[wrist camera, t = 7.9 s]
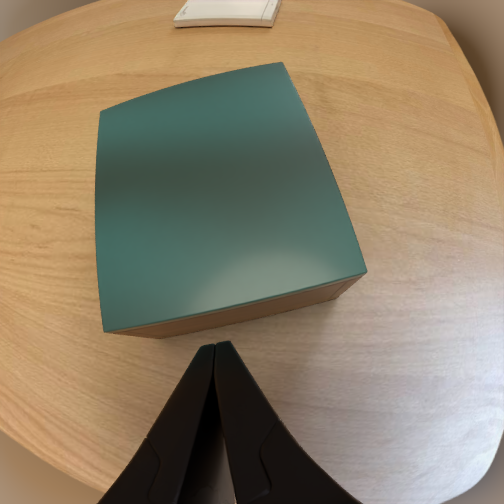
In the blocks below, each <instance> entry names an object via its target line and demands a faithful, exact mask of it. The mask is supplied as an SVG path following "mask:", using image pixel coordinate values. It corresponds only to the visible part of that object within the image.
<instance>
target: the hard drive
mask: <svg viewBox="0 0 504 504" xmlns="http://www.w3.org/2000/svg"><path fill="white" fill-rule="evenodd" d="M281 1H282V0H188V1H187V3H186V4H185V5H184V6H183V8H182V9H181V10H180V11H179V13H178V14H177V15H176V16H175V18H174V20H173V22H174V26H175V27H188V26H211V25H244V26H266V27H272V26H273V23H274V20H275V18H276V15H277V12H278V10H279V7H280V5H281Z"/></svg>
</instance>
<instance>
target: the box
mask: <svg viewBox="0 0 504 504" xmlns="http://www.w3.org/2000/svg"><path fill="white" fill-rule="evenodd" d="M360 278H361V277H359V278H355V279H351V280H348V281H344V282H340V283H337V284H333V285H329V286H325V287H322V288H318V289H314V290H310V291H306V292H302V293H298V294H294V295H290V296H286V297H282V298H278V299H274V300H270V301H266V302H262V303H257V304H253V305H249V306H245V307H240V308H236V309H231V310H227V311H223V312H218V313H213V314H209V315H204V316H199V317H195V318H190V319H185V320H180V321H175V322H170V323H165V324H160V325H155V326H150V327H145V328H139V329H134V330H128V331H123V332H117V333H113V334H120V335H128V336H137V337H146V338H155V339H161V338H167V337H172V336H177V335H182V334H188V333H193V332H198V331H203V330H207V329H212V328H217V327H222V326H226V325H231V324H235V323H240V322H244V321H249V320H253V319H257V318H262V317H266V316H270V315H274V314H278V313H282V312H287V311H291V310H294V309H298V308H302V307H306V306H310V305H314V304H318V303H321V302H325V301H329V300H332V299H336V298H338V297H339V296H340V295H341V294H342V293H343V292H345V291H346V290H347V289H348V288H349V287H351V286H352V285H353V284H354V283H355V282H356V281H358V280H359V279H360Z"/></svg>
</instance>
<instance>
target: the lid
mask: <svg viewBox="0 0 504 504" xmlns="http://www.w3.org/2000/svg"><path fill="white" fill-rule="evenodd" d="M95 240H96V261H97V276H98V288H99V298H100V308H101V316H102V324H103V331H104V332H105V333H117V332H123V331H128V330H134V329H139V328H145V327H150V326H155V325H160V324H165V323H170V322H175V321H180V320H185V319H190V318H195V317H199V316H204V315H209V314H213V313H218V312H223V311H227V310H231V309H236V308H240V307H245V306H249V305H253V304H257V303H262V302H266V301H270V300H274V299H278V298H282V297H286V296H290V295H294V294H298V293H302V292H306V291H310V290H314V289H318V288H322V287H325V286H329V285H333V284H337V283H340V282H344V281H348V280H351V279H355V278H359V277H362V276H364V275H365V274H366V273H367V269H366V265H365V262H364V259H363V256H362V253H361V250H360V247H359V244H358V241H357V238H356V235H355V232H354V229H353V226H352V223H351V220H350V218H349V215H348V212H347V209H346V206H345V204H344V201H343V198H342V196H341V193H340V190H339V188H338V185H337V183H336V180H335V177H334V175H333V172H332V170H331V167H330V165H329V162H328V160H327V158H326V155H325V153H324V150H323V148H322V146H321V143H320V141H319V139H318V136H317V134H316V132H315V129H314V127H313V125H312V123H311V120H310V118H309V116H308V114H307V112H306V109H305V107H304V105H303V103H302V101H301V99H300V97H299V94H298V92H297V90H296V88H295V86H294V84H293V82H292V80H291V78H290V76H289V74H288V72H287V70H286V68H285V66H284V64H283V62H278V63H272V64H266V65H260V66H254V67H249V68H244V69H239V70H234V71H229V72H225V73H220V74H216V75H212V76H208V77H203V78H200V79H196V80H192V81H188V82H185V83H181V84H178V85H174V86H171V87H167V88H164V89H161V90H158V91H155V92H152V93H149V94H146V95H143V96H140V97H137V98H134V99H131V100H128V101H126V102H123V103H120V104H118V105H115V106H112V107H110V108H107V109H105V110H102V111H101V112H100V119H99V129H98V141H97V155H96V175H95Z"/></svg>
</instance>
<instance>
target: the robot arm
mask: <svg viewBox="0 0 504 504" xmlns="http://www.w3.org/2000/svg"><path fill="white" fill-rule="evenodd" d="M146 437H147V438H145V439H144V440H143V442H142V444H141V445H140V447H139V449H138V450H137V452H136V453H135V455H134V456H133V458H132V459H131V461H130V462H129V464H128V465H127V466H126V468H125V469H124V470H123V472H122V473H121V474H120V476H119V477H118V478H117V480H116V481H115V482H114V483H113V485H112V486H111V487H110V488H109V490H108V491H107V492H106V493H105V495H104V496H103V497H102V498H101V499H100V501H99V502H98V503H97V504H235V497H236V502H237V504H363V503H361V502H360V501H358V500H357V499H356V498H354V497H353V496H352V495H350V494H349V493H348V492H347V491H346V490H344V489H343V488H342V487H341V486H340V485H339V484H338V483H337V482H336V481H335V480H334V479H333V478H331V477H330V476H329V475H328V474H327V473H326V472H325V471H324V470H323V469H322V468H321V467H320V466H319V465H318V464H317V463H316V462H315V461H314V460H313V459H312V458H311V457H310V456H309V455H308V454H307V453H306V452H305V451H304V450H303V448H302V447H301V446H300V445H299V444H298V443H297V441H296V440H295V439H294V437H293V436H292V435H291V433H290V432H289V431H288V429H287V428H286V426H285V425H284V423H283V422H282V421H281V420H280V418H279V416H278V415H277V413H276V412H275V410H274V409H273V407H272V406H271V404H270V403H269V401H268V400H267V398H266V397H265V395H264V394H263V392H262V391H261V389H260V388H259V386H258V384H257V383H256V381H255V380H254V378H253V377H252V375H251V373H250V372H249V370H248V369H247V367H246V366H245V364H244V362H243V361H242V359H241V357H240V356H239V354H238V353H237V351H236V349H235V348H234V346H233V344H232V343H231V341H229V340H228V341H223V342H218V343H217V344H216V345H215V344H208V345H203V346H201V347H200V348H199V350H198V352H197V353H196V355H195V357H194V358H193V360H192V362H191V363H190V365H189V366H188V368H187V370H186V371H185V373H184V375H183V376H182V378H181V380H180V381H179V383H178V385H177V386H176V388H175V390H174V391H173V393H172V395H171V396H170V398H169V400H168V401H167V403H166V404H165V406H164V408H163V409H162V411H161V413H160V414H159V416H158V418H157V419H156V421H155V423H154V424H153V426H152V427H151V429H150V431H149V432H148V434H147V436H146ZM234 493H235V495H234Z"/></svg>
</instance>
